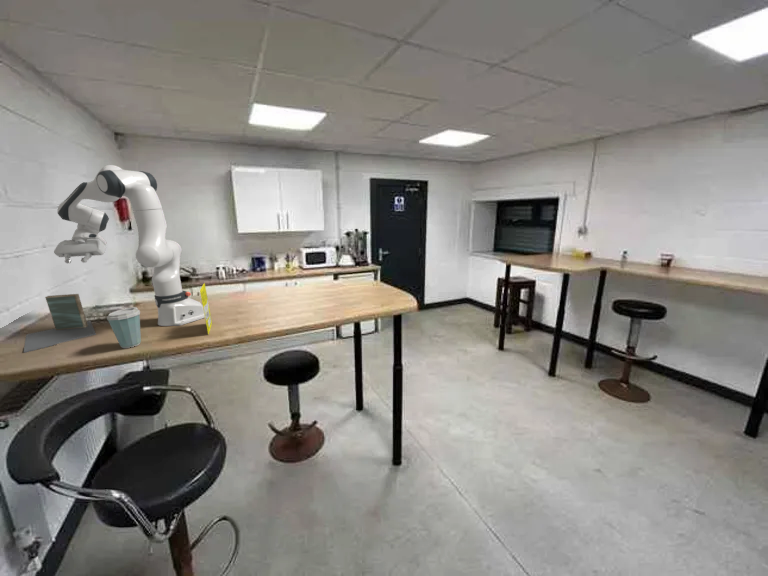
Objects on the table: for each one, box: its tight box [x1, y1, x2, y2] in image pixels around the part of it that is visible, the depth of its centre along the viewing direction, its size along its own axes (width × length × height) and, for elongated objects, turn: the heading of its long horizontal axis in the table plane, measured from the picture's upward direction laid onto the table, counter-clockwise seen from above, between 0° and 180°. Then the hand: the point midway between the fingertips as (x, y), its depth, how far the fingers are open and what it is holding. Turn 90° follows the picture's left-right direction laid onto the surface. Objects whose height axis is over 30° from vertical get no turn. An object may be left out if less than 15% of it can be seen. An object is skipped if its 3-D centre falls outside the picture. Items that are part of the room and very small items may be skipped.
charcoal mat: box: [23, 320, 97, 353], centre depth 145 cm, size 22×26×1 cm
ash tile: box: [44, 293, 88, 330], centre depth 150 cm, size 2×12×16 cm, turn 100°
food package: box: [199, 282, 213, 336], centre depth 144 cm, size 15×1×20 cm, turn 22°
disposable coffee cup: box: [106, 306, 142, 349], centre depth 131 cm, size 11×11×15 cm
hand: (75, 262), depth 157 cm, fingers open, 5 cm apart
